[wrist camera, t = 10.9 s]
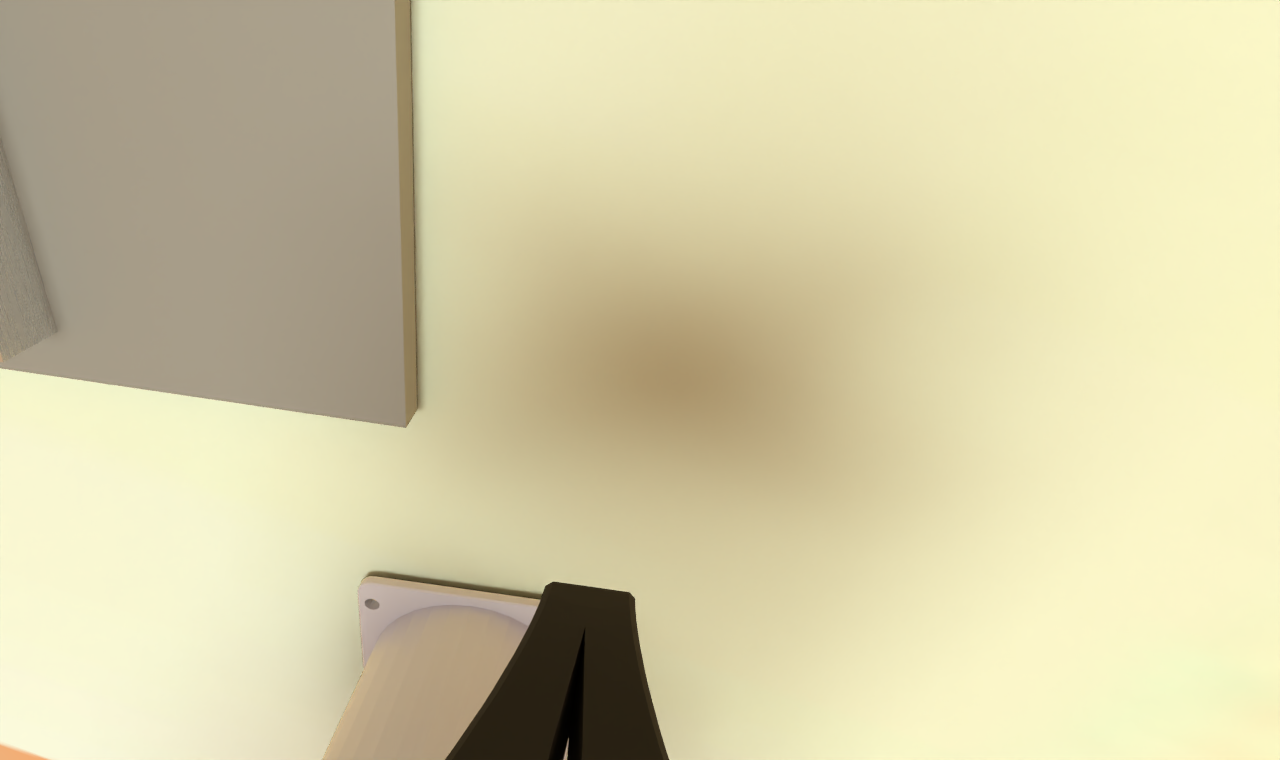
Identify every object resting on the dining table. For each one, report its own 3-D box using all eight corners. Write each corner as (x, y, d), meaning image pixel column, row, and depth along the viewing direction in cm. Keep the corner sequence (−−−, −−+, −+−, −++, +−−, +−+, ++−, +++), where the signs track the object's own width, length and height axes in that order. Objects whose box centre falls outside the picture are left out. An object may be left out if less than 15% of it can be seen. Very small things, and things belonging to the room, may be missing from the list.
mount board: (417, 409, 21) (405, 427, 21) (-190, 320, 21) (-227, 334, 20) (407, -165, 14) (389, -174, 14) (-496, -315, 14) (-574, -335, 13)
